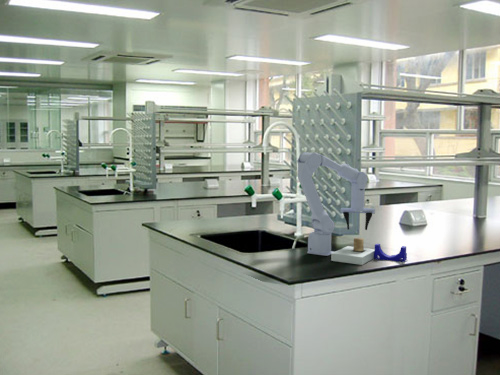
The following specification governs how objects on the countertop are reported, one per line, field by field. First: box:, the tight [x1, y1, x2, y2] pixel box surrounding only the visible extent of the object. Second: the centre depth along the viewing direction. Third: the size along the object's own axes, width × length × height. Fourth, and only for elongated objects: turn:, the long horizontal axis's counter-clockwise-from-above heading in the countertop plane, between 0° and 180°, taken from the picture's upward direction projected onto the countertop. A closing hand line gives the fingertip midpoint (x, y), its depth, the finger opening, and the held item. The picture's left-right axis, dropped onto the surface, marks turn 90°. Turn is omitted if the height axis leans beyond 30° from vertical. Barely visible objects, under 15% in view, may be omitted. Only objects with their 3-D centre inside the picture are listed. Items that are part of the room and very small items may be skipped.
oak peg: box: [353, 237, 365, 253], centre depth 206 cm, size 4×4×8 cm
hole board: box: [330, 245, 375, 266], centre depth 206 cm, size 13×17×3 cm
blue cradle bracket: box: [373, 243, 408, 263], centre depth 205 cm, size 12×4×6 cm, turn 61°
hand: (357, 229), depth 221 cm, fingers open, 7 cm apart
